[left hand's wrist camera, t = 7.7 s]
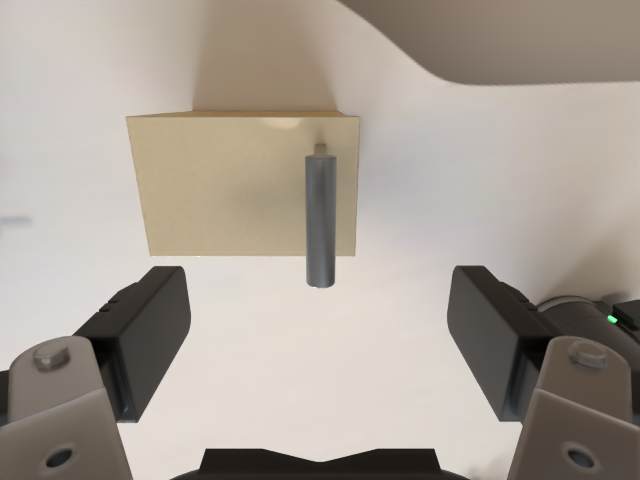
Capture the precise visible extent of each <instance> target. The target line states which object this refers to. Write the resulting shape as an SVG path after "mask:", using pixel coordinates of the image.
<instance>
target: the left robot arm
mask: <svg viewBox="0 0 640 480" xmlns="http://www.w3.org/2000/svg"><path fill="white" fill-rule="evenodd" d="M447 322H448V328H449V331H450V334H451V336H452V337H453V339H454V341H455V343H456V344H457V346H458V348H459V350H460V352H461V353H462V355H463V357H464V359H465V361H466V362H467V364H468V366H469V368H470V370H471V371H472V373H473V375H474V377H475V378H476V380H477V382H478V384H479V386H480V387H481V389H482V391H483V393H484V395H485V396H486V398H487V400H488V402H489V404H490V405H491V407H492V409H493V411H494V412H495V414H496V416H497V418H498V420H499V421H500V422H521V424H522V425H523V427H522V431H521V434H520V437H519V441H518V444H517V447H516V451H515V454H514V457H513V461H512V464H511V467H510V471H509V474H508V477H507V480H640V300H639V299H638V300H633V301H629V302H624V303H619V304H614V305H613V309H612V308H610V307H609V306H608V305H606V304H605V303H603V302H602V301H600V302H594V303H592V302H591V301H589V300H587V299H584V298H581V297H574V296H567V297H560V298H555V299H552V300H550V301H547V302H545V303H543V304H541V305H540V306H538V307H535V306H534V305H533V304H532V303H529V300H528V299H527V298H526V297H525V296H524V295H523V294H522V293H521V292H520V291H519V290H517V289H515V288H513V287H511V286H509V285H508V284H506V283H504V282H499V281H498V280H497V279H496V278H495V277H494V276H493V274H492V273H491V272H490V271H489V270H488V269H487V268H486V267H484V266H456V267H455V268H454V271H453V275H452V282H451V290H450V297H449V304H448V311H447ZM190 323H191V311H190V304H189V297H188V290H187V283H186V276H185V272H184V269H183V268H182V267H181V266H154V267H153V268H152V269H151V270H150V271H149V272H148V273H147V274H146V275H145V276H144V277H143V278H142V279H141V280H140V281H139V282H135V283H133V284H131V285H129V286H127V287H126V288H124V289H122V290H120V291H118V292H117V293H116V294H115V295H114V296H113V297H112V298H111V299H110V300H109V301H108V303H106V304H105V305H104V306H103V307H102V308H100V309H99V312H96V313H95V314H94V315H93V316H92V317H91V318H90V319H89V320H88V321H87V322H86V323H85V324H84V325H83V326H81V327H80V328H79V329H78V330H77V331H76V332H75V333H74V334H73V335H72V336H65V337H59V338H55V339H51V340H48V341H45V342H42V343H40V344H38V345H35V346H33V347H31V348H30V349H28V350H26V351H25V352H23V353H22V354H20V355H19V356H18V357H17V358H16V359H15V360H14V361H13V362H12V364H11V366H10V369H9V370H6V371H1V372H0V480H133V477H132V474H131V471H130V467H129V464H128V461H127V457H126V454H125V451H124V447H123V444H122V441H121V437H120V434H119V431H118V427H117V424H116V423H138V421H139V419H140V417H141V416H142V414H143V412H144V410H145V409H146V407H147V405H148V403H149V402H150V400H151V398H152V396H153V395H154V393H155V391H156V389H157V387H158V386H159V384H160V382H161V380H162V379H163V377H164V375H165V373H166V372H167V370H168V368H169V366H170V364H171V363H172V361H173V359H174V357H175V356H176V354H177V352H178V350H179V349H180V347H181V345H182V343H183V341H184V340H185V338H186V336H187V334H188V332H189V329H190ZM170 480H470V479H468V478H465V477H463V476H461V475H458V474H455V473H452V472H449V471H446V470H442V469H441V468H440V465H439V462H438V459H437V456H436V453H435V450H434V449H375V450H371V451H366V452H362V453H358V454H354V455H350V456H346V457H342V458H338V459H334V460H330V461H325V462H315V461H310V460H306V459H302V458H298V457H294V456H290V455H286V454H282V453H278V452H274V451H269V450H265V449H206V450H205V453H204V456H203V459H202V462H201V465H200V468H199V469H198V470H194V471H191V472H188V473H185V474H182V475H179V476H177V477H175V478H172V479H170Z"/></svg>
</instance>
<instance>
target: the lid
mask: <svg viewBox="0 0 640 480" xmlns="http://www.w3.org/2000/svg"><path fill="white" fill-rule="evenodd" d="M126 122H127V128H128V133H129V139H130V145H131V150H132V156H133V162H134V167H135V173H136V179H137V184H138V190H139V196H140V202H141V207H142V213H143V219H144V224H145V230H146V236H147V241H148V247H149V253H150V256H306V276H307V284H308V285H309V286H311V287H314V288H328V287H331V286H332V285H334V283H335V256H355V242H356V215H357V187H358V159H359V132H360V117H359V116H128V117H126Z"/></svg>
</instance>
